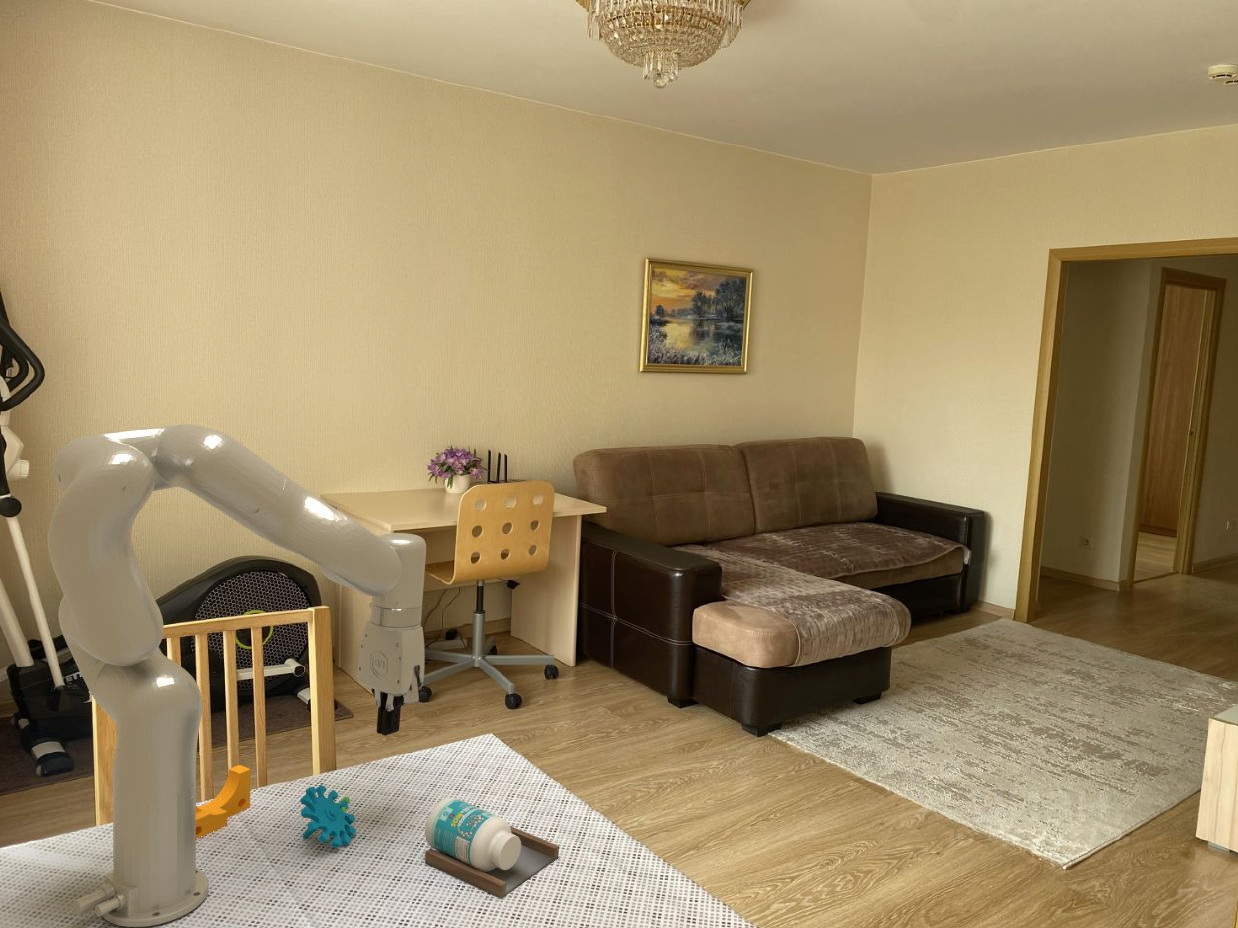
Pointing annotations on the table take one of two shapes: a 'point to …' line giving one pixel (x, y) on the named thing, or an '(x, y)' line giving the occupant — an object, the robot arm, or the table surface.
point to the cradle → (499, 881)
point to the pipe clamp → (225, 802)
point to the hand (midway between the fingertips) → (387, 731)
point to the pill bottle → (472, 835)
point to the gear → (327, 816)
